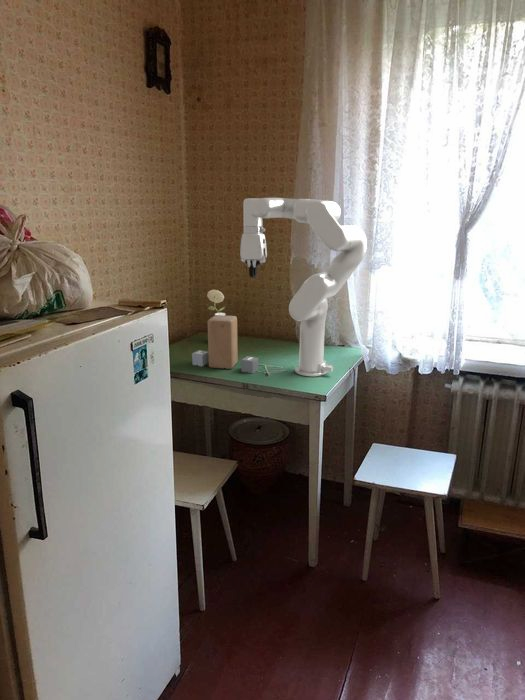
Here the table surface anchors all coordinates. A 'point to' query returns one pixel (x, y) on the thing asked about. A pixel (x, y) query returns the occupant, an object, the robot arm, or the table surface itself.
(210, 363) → the wooden block
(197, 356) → the slate block marked 7
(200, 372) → the table surface
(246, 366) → the charcoal block marked 1
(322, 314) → the robot arm
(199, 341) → the table surface
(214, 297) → the flower in vase
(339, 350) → the table surface
